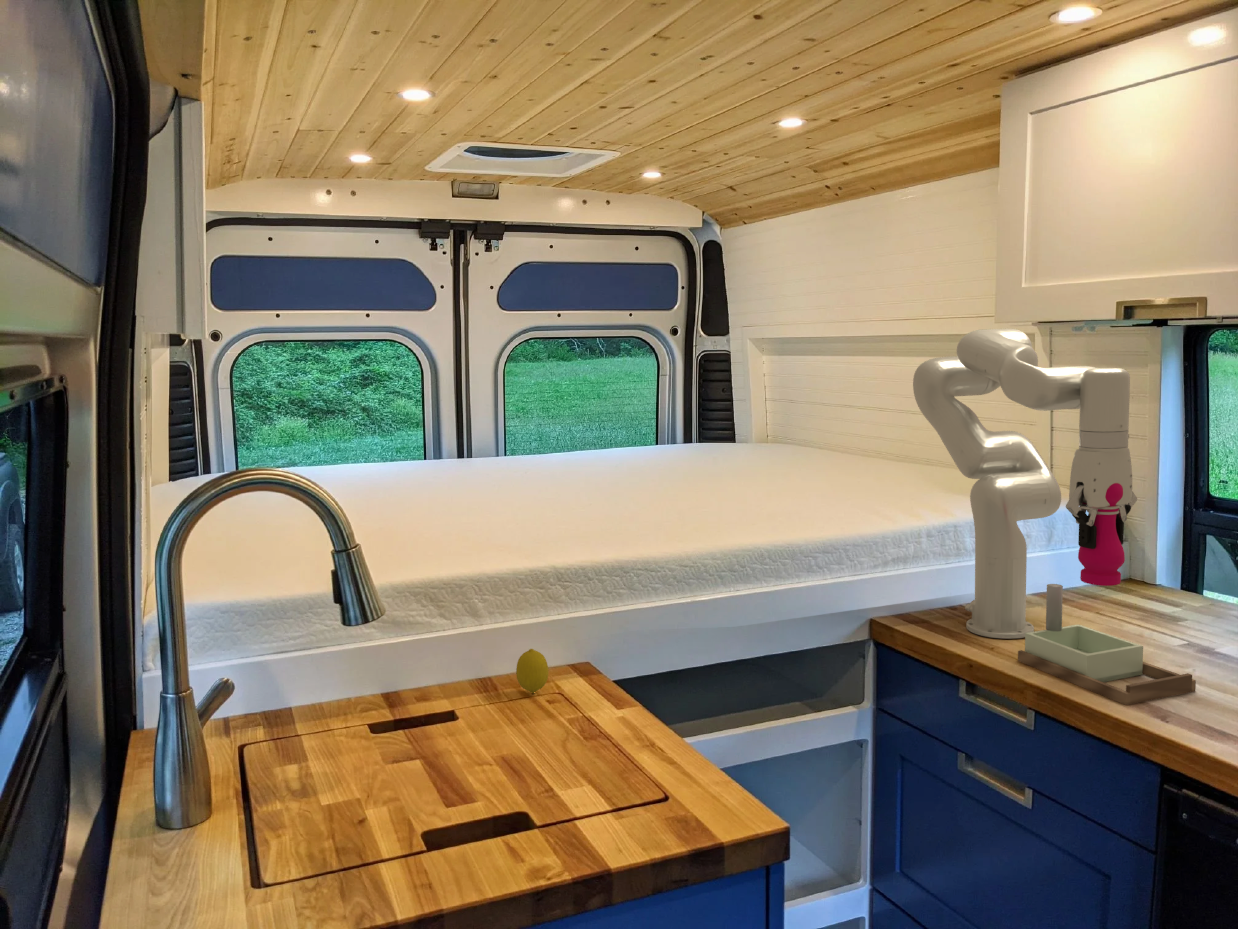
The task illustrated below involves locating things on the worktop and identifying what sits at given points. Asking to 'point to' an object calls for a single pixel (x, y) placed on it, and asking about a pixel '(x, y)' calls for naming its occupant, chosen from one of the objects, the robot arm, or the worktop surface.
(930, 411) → the robot arm
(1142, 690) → the bay
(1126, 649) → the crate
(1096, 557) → the pepper mill
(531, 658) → the lemon
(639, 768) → the worktop surface
